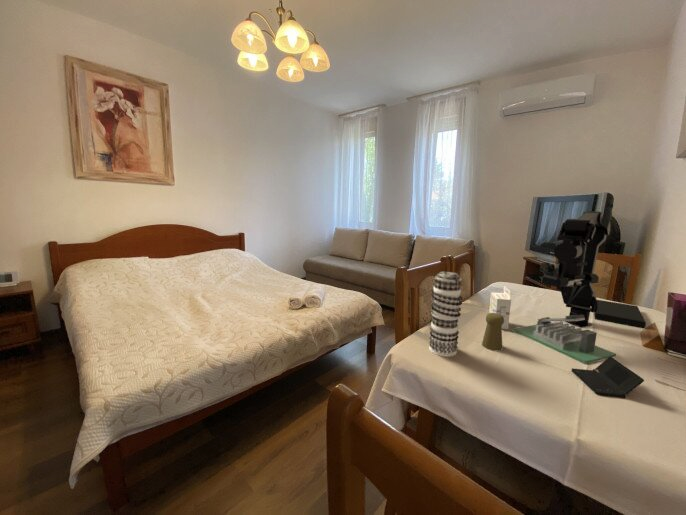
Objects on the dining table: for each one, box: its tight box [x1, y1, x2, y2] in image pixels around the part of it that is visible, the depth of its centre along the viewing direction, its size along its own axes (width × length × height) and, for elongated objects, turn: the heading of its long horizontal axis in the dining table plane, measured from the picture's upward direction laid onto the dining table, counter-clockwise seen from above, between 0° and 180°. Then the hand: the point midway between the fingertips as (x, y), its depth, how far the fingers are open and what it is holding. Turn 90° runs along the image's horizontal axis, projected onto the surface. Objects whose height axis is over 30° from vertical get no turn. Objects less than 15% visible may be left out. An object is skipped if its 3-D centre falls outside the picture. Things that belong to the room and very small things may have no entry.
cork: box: [481, 313, 504, 351], centre depth 93 cm, size 6×6×11 cm
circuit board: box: [512, 324, 617, 365], centre depth 97 cm, size 14×24×1 cm, turn 19°
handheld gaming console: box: [571, 357, 645, 399], centre depth 74 cm, size 12×7×10 cm
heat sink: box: [533, 321, 598, 353], centre depth 96 cm, size 12×16×6 cm
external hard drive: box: [593, 299, 647, 330], centre depth 121 cm, size 14×23×3 cm, turn 140°
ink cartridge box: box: [488, 285, 512, 330], centre depth 110 cm, size 9×5×15 cm, turn 168°
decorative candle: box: [428, 271, 463, 358], centre depth 89 cm, size 9×9×25 cm
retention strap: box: [537, 315, 585, 322], centre depth 97 cm, size 4×12×2 cm, turn 19°
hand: (566, 303), depth 96 cm, fingers closed
